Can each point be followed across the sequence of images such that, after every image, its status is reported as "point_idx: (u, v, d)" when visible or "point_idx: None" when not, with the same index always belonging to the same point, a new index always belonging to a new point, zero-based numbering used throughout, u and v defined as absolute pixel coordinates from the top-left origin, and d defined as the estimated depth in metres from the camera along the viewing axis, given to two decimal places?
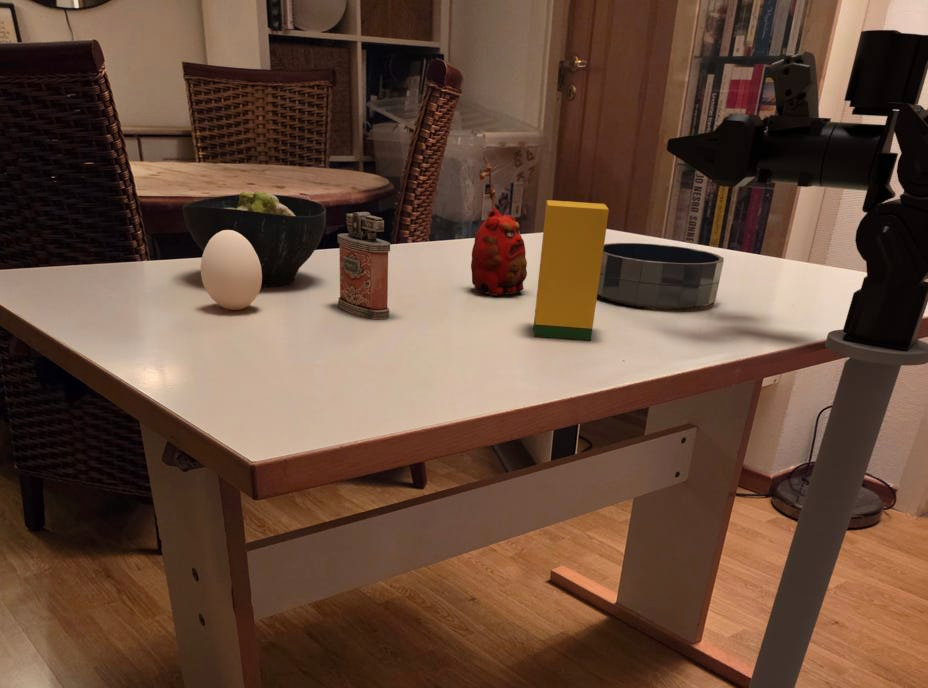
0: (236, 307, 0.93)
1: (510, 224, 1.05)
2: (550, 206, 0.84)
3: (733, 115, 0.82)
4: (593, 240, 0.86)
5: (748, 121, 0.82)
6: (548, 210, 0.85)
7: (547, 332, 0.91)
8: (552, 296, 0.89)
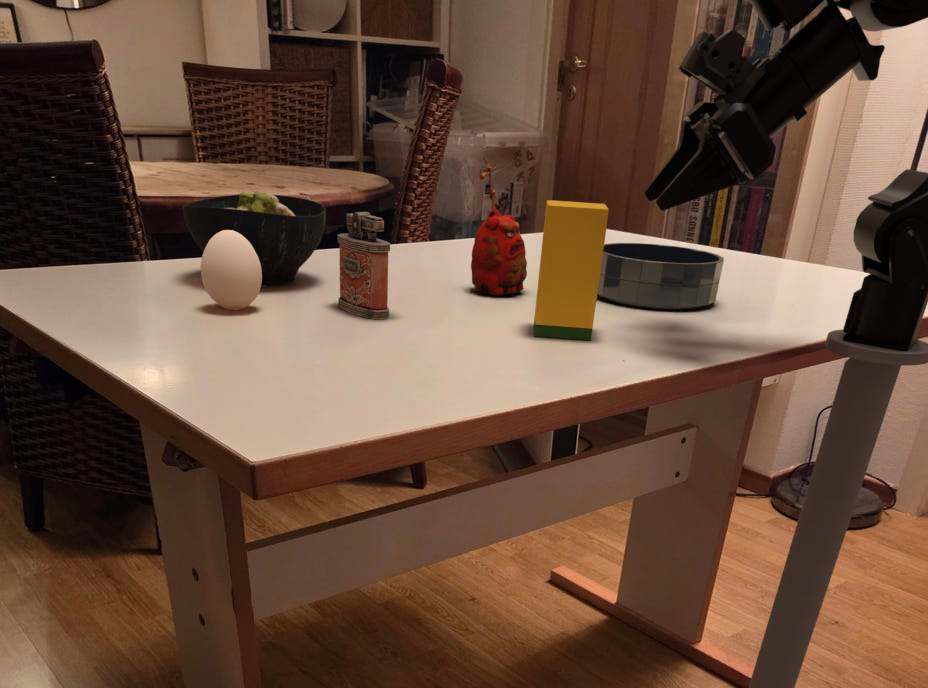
0: (236, 307, 0.93)
1: (510, 224, 1.05)
2: (550, 206, 0.84)
3: (721, 116, 0.74)
4: (593, 240, 0.86)
5: (741, 106, 0.73)
6: (548, 210, 0.85)
7: (547, 332, 0.91)
8: (552, 296, 0.89)
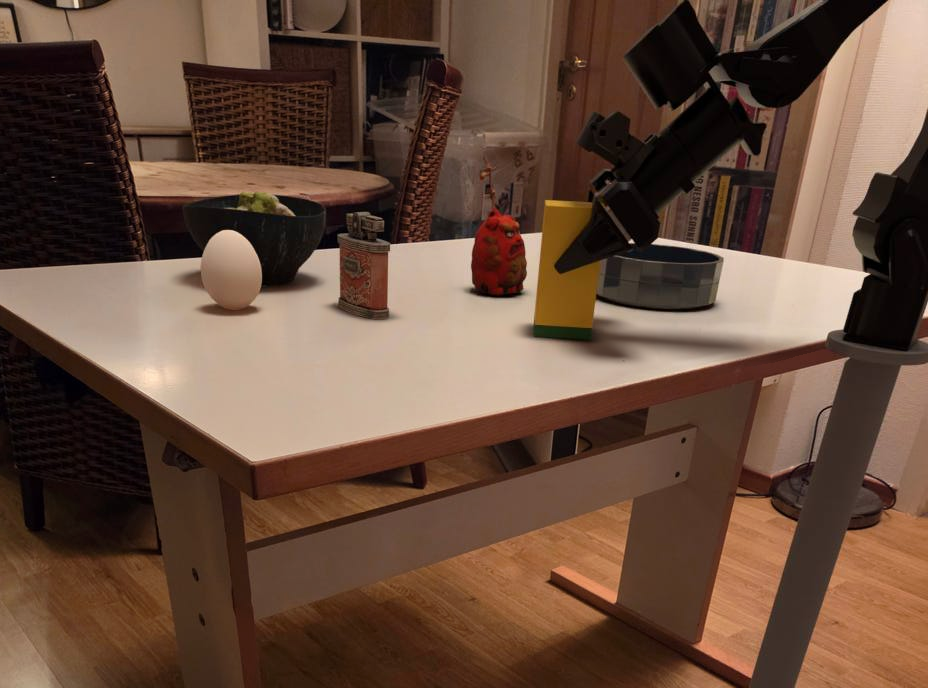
0: (236, 307, 0.93)
1: (510, 224, 1.05)
2: (548, 206, 0.84)
3: (606, 194, 0.78)
4: None
5: (624, 185, 0.77)
6: (546, 210, 0.85)
7: (547, 332, 0.91)
8: (551, 297, 0.89)
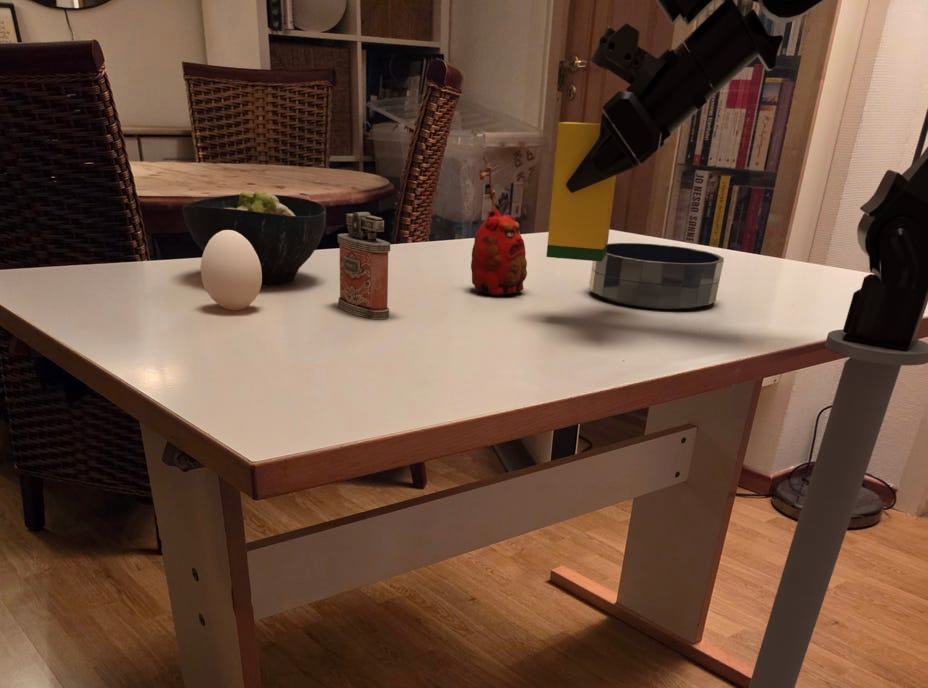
0: (236, 307, 0.93)
1: (510, 224, 1.05)
2: (561, 124, 0.86)
3: (607, 104, 0.79)
4: None
5: (623, 94, 0.78)
6: (559, 128, 0.87)
7: (559, 252, 0.93)
8: (563, 216, 0.91)
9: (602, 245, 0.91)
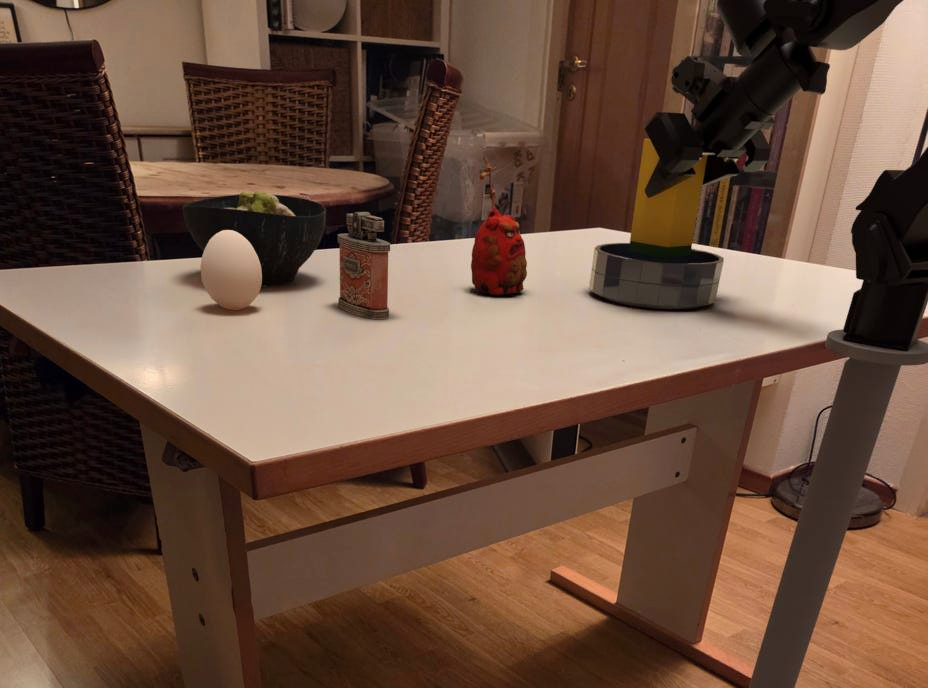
0: (236, 307, 0.93)
1: (510, 224, 1.05)
2: (645, 139, 1.04)
3: (648, 122, 0.96)
4: None
5: (658, 114, 0.94)
6: (644, 143, 1.04)
7: (637, 248, 1.09)
8: (642, 217, 1.07)
9: (667, 243, 1.06)
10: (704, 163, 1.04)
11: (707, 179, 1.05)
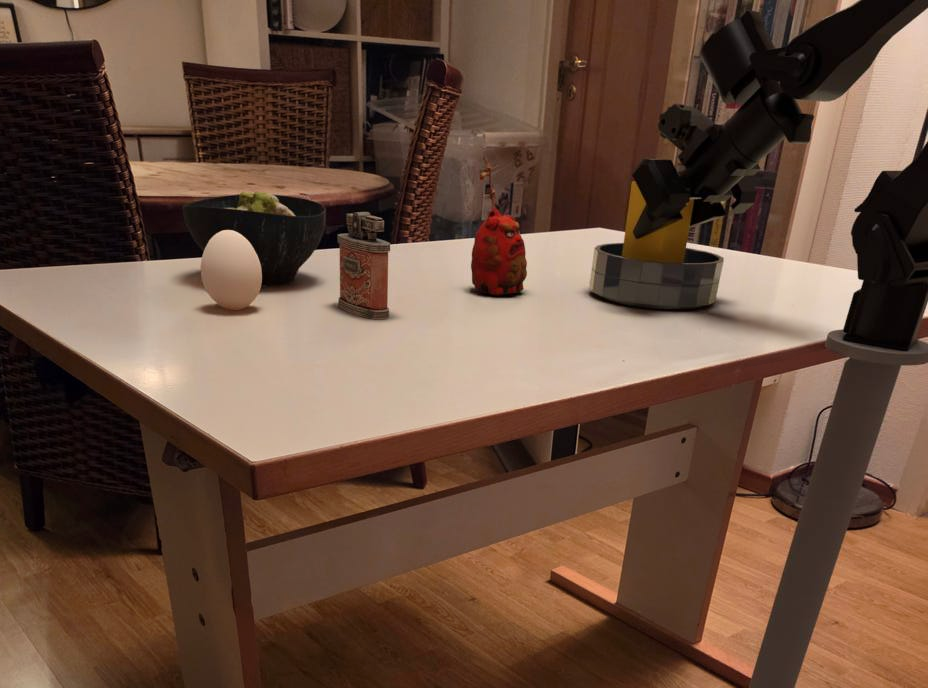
0: (236, 307, 0.93)
1: (510, 224, 1.05)
2: (633, 182, 1.05)
3: (635, 168, 0.97)
4: None
5: (646, 161, 0.96)
6: (632, 185, 1.05)
7: None
8: (630, 257, 1.09)
9: None
10: (691, 205, 1.05)
11: (694, 221, 1.06)
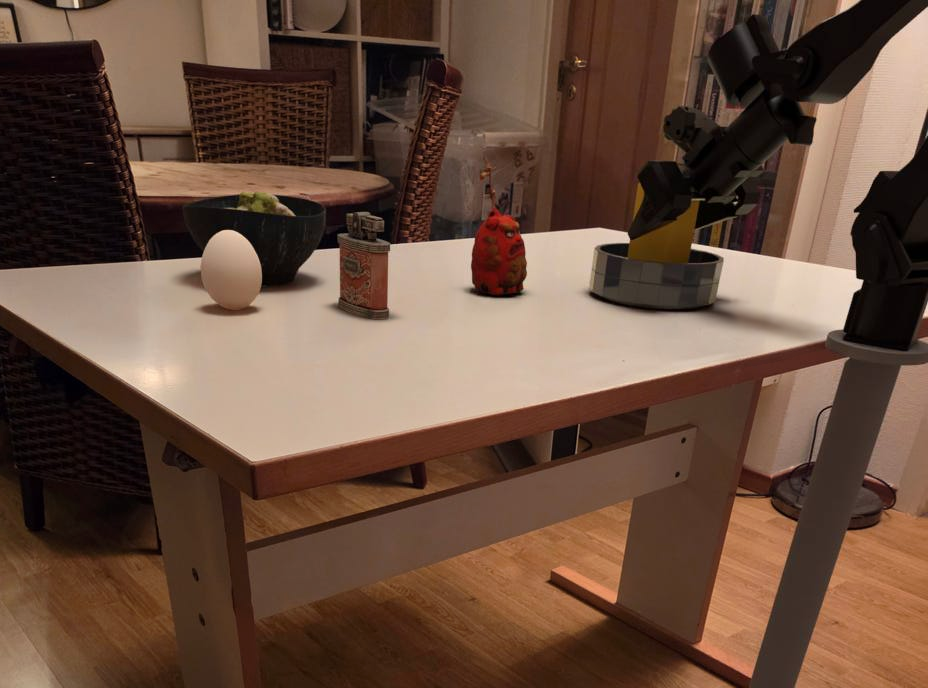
0: (236, 307, 0.93)
1: (510, 224, 1.05)
2: (639, 184, 1.06)
3: (640, 170, 0.98)
4: None
5: (650, 163, 0.97)
6: (638, 188, 1.06)
7: None
8: None
9: None
10: (696, 208, 1.06)
11: (708, 221, 1.09)
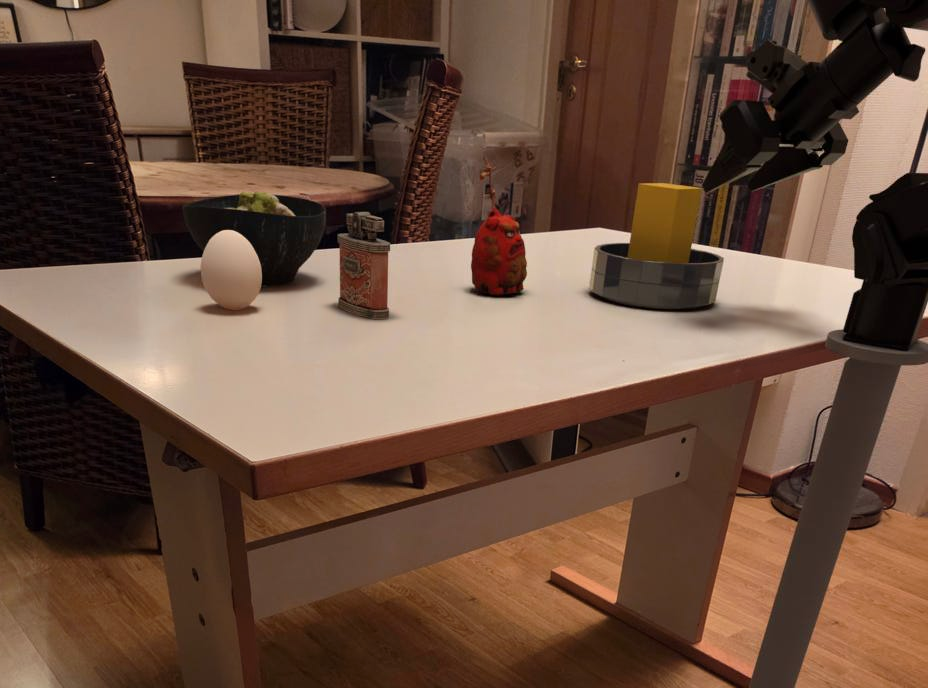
0: (236, 307, 0.93)
1: (510, 224, 1.05)
2: (640, 184, 1.06)
3: (723, 111, 0.89)
4: (666, 214, 1.05)
5: (736, 102, 0.88)
6: (638, 188, 1.06)
7: None
8: None
9: None
10: (697, 208, 1.06)
11: (789, 172, 0.99)
